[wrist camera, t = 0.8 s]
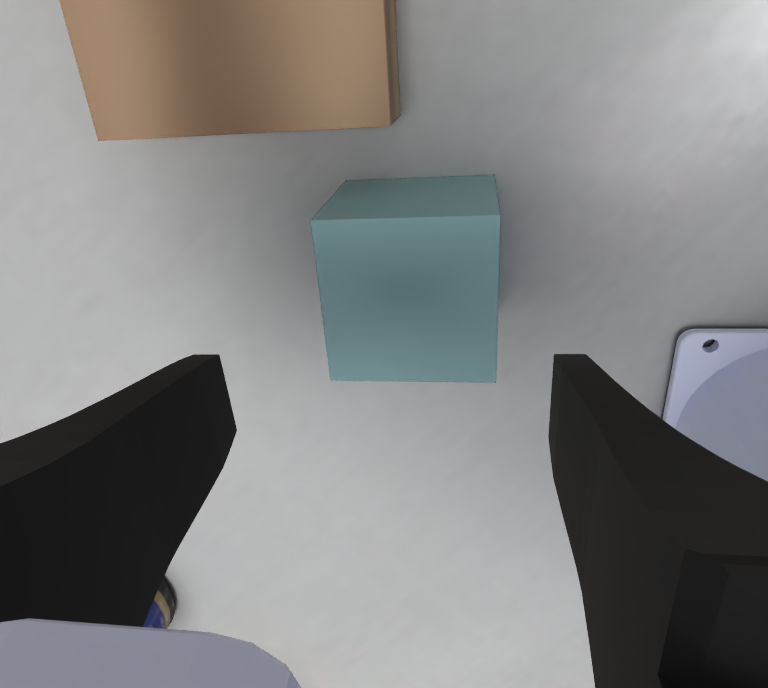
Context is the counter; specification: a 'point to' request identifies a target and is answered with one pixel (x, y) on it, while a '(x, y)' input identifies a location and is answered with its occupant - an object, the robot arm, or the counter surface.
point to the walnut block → (234, 65)
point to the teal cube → (410, 279)
